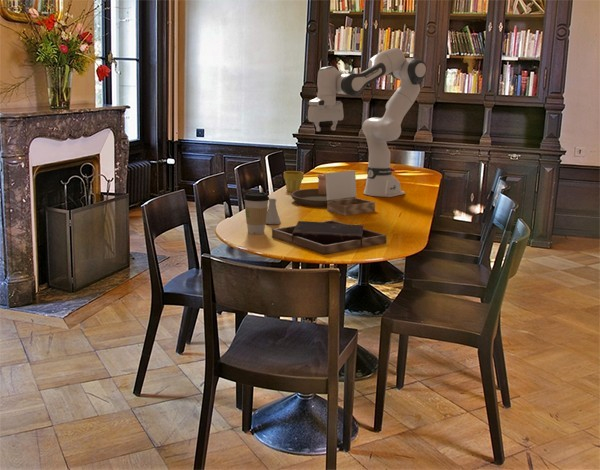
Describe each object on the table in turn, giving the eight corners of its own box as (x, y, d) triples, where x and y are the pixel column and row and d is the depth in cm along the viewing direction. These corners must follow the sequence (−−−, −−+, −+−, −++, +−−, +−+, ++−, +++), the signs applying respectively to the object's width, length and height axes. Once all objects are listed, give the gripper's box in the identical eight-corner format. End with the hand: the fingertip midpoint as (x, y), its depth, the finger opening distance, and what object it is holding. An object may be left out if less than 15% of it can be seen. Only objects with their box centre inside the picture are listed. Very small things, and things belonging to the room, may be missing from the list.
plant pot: (300, 193, 343) (301, 174, 340) (281, 191, 345) (281, 173, 342) (304, 189, 352) (305, 171, 350) (285, 188, 354) (286, 170, 352)
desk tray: (332, 227, 268) (332, 220, 267) (386, 243, 245) (386, 235, 245) (272, 236, 250) (272, 229, 249) (324, 254, 227) (324, 246, 226)
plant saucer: (309, 211, 300) (309, 201, 299) (279, 199, 326) (279, 190, 325) (367, 206, 314) (368, 197, 313) (334, 195, 341) (334, 186, 339)
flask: (262, 221, 276) (263, 197, 273) (280, 221, 276) (280, 197, 274) (263, 225, 269) (264, 200, 266) (281, 225, 270) (282, 200, 267)
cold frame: (352, 206, 312) (353, 182, 309) (374, 212, 301) (376, 186, 298) (323, 210, 301) (324, 185, 298) (345, 216, 290) (346, 190, 287)
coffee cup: (253, 228, 262) (254, 190, 259) (273, 232, 257) (274, 193, 254) (237, 232, 255) (238, 193, 251) (258, 236, 249) (258, 197, 246)
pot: (323, 192, 323) (324, 173, 321) (331, 193, 319) (332, 175, 317) (314, 193, 320) (315, 174, 318) (322, 195, 315) (323, 176, 313)
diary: (361, 249, 237) (362, 235, 236) (291, 245, 240) (292, 232, 239) (363, 236, 255) (363, 223, 254) (298, 232, 258) (298, 220, 257)
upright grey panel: (356, 196, 308) (355, 196, 309) (355, 170, 307) (354, 170, 307) (327, 200, 297) (326, 200, 298) (326, 173, 296) (325, 173, 296)
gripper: (337, 100, 326) (337, 128, 330) (305, 101, 314) (305, 131, 317) (346, 101, 322) (346, 129, 325) (314, 102, 309) (314, 132, 313)
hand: (325, 130), depth 321 cm, fingers open, 8 cm apart
